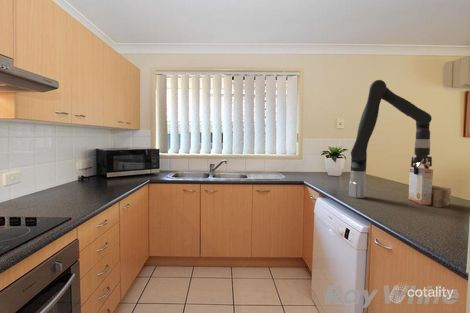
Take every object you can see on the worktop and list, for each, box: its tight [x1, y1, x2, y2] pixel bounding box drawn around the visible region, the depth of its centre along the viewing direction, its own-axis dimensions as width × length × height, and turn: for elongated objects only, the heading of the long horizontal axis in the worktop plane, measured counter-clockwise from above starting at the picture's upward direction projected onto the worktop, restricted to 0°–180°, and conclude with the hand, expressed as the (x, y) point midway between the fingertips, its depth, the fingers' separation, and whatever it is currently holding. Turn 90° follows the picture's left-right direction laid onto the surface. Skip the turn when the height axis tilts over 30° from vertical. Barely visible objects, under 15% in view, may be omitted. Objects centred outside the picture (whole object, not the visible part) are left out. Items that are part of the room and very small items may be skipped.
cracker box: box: [407, 166, 434, 206], centre depth 164 cm, size 14×6×21 cm, turn 174°
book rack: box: [431, 184, 452, 208], centre depth 164 cm, size 10×21×10 cm, turn 20°
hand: (421, 174), depth 163 cm, fingers open, 8 cm apart
